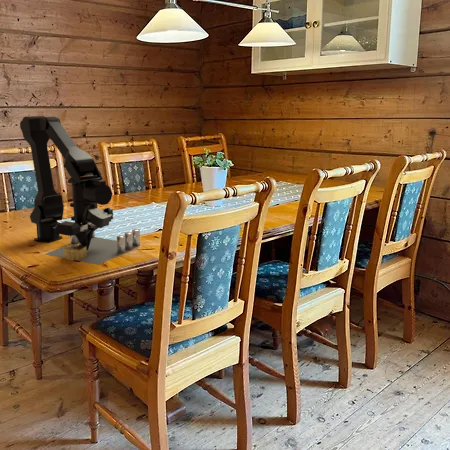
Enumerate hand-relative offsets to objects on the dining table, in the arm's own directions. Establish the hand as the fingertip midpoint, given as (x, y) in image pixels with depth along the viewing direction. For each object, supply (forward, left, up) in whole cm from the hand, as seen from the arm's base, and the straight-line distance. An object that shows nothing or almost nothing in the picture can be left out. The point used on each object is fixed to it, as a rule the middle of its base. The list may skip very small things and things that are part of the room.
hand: (86, 249), depth 148 cm
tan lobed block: (0, -5, -1) cm, 5 cm away
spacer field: (0, +9, -1) cm, 9 cm away
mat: (0, +4, -1) cm, 4 cm away
